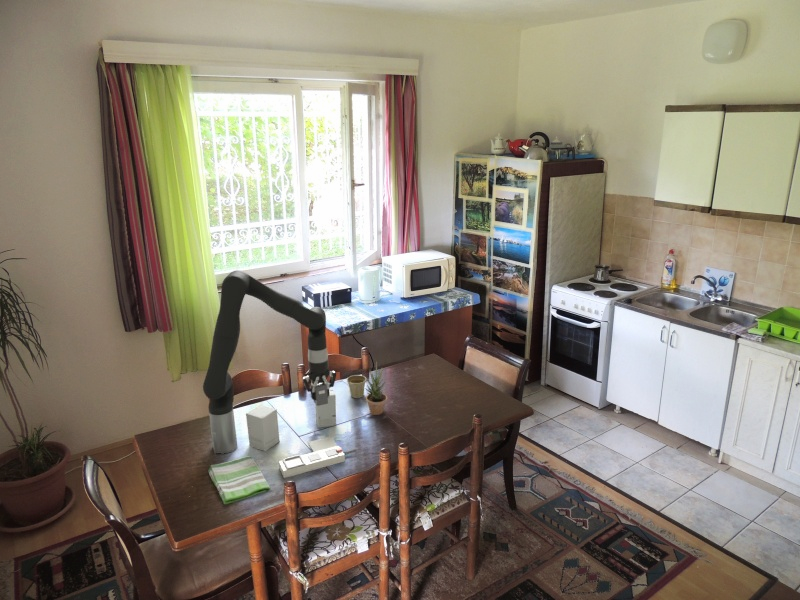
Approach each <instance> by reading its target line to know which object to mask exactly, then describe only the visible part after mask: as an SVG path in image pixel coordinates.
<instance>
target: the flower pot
mask: <svg viewBox="0 0 800 600" xmlns="http://www.w3.org/2000/svg"><path fill="white" fill-rule="evenodd" d="M346 382H347V384H348V387H349V392H350V397H352V398H354V399H360V398H362V397H364V396H365V388H366V387H365V385H366V382H367V377H366V376H365V375H360V374H354V375H350V376H349V377H348V376H347V378H346Z"/></svg>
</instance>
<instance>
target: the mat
mask: <svg viewBox="0 0 800 600" xmlns="http://www.w3.org/2000/svg"><path fill="white" fill-rule="evenodd" d="M307 445H308V446H309V448H310V449H311V450H312V453H313V452H317V451H320V450H324V449H328V448H332V447H336V446H339V445H338V444H337V443H336V441H335V439H333V436H326V437H322V438H319V439H315V440H311V441H307Z"/></svg>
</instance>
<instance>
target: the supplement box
mask: <svg viewBox="0 0 800 600" xmlns="http://www.w3.org/2000/svg"><path fill="white" fill-rule="evenodd" d="M245 416H246V426H247V434H248V435H247V436H248V441H249V447H252V448H255V449H257V450H260V451H262V452H267V451H268V450H269V449H270V448H272V447H274V446H275V445H276V444H278V443H280V440H281V439H280V431H279V422H278V410H277V409H276V408H273V407H269V406H266V405H263V404H260V405H258V406H256V407H255V408H252V409H251V410H249V411H248V412H246V413H245Z"/></svg>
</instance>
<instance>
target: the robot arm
mask: <svg viewBox="0 0 800 600" xmlns="http://www.w3.org/2000/svg"><path fill="white" fill-rule="evenodd" d="M246 295H247V296H251V297H253V298H256V299H257V300H259V301H260V302H262V303H264V304H266V306H268V307H270V308H271V309H272V310H274V311H276V313H280V314H281V315H283V316H286V317H289V318H291V319H293V320H295V321H296V322H297V323H298V324H301V325H302V326H303V327H306V328H307V329H308V335H307V348H308V349H307V350H308V351H307V360H308V375H306V376H302V377H301V381H302V383H303V386H304V388H305V390H306V392H309V393H310V397H311V399H312V400H313V402H314V401H315V400H316V395H315V387H317V384H319V383H324V384H325V385H327V394H328V396H329V390H330V388H333V387H334V386H335V383H336V377H337V372H336V371H335V370H329V356H328V355H329V353H328V347H327V336H326V334H327V333H326V331H327V330H326V328H327V316H326V315H327V314H326V312H325V310H324V309H323V308H322V307H319V306H314V307H312V308H308V307H306V306H304V303H303V302H301V301H300V300H297V299H295V298H293V297H291V296H290V295H286V294H284V293H282V292H280V291H278V290H276V289H273V288H271V287H269V286H268V285H266V284H264V283H262V282H261V281H259V280H258V279H256V278H255V277H253V276H251V275H250V274H249V273H247V272H245V271H242V270H240V269H239V270H233V271H230V273H228V274H227V276H226V277H225V278H224V279H223V281H222V283H221V292H220V303H219V304H220V305H219V309H218V310H219V312H218V315H217V318H216V322H215V326H214V330H213V338H212V344H211V349H210V355H209V364H208V369H207V372H206V375H205V378H204V381H203V385H202V390H203V393H204V395H205V397H207V399H209V403H208V406H207V407H208V414H209V423H210V429H209V430H210V434H211V436H210V437H211V443H212V449H213V451H214V454H215V453H221V454H220V455H224V453H226V454H229V452H230V453H232V452H234V451H235V450H237V448H238V439H237V431H236V430H237V429H236V422H235V411H234V399H235V397H234V382H233V380H232V379H233V378H232V376H231V374H230V373H229V372H228V371H229V367H230V365H231V362H232V359H233V358H234V355H235V353H236V350H237V348H238V343H239V338H240V334H241V321H240V320H241V319H240V313H241V309H242V305H243V301H244V299H245V296H246ZM329 376H330V377H329ZM328 378H329V381H328V380H327V379H328ZM309 380H311V383H310V385H309Z"/></svg>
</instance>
